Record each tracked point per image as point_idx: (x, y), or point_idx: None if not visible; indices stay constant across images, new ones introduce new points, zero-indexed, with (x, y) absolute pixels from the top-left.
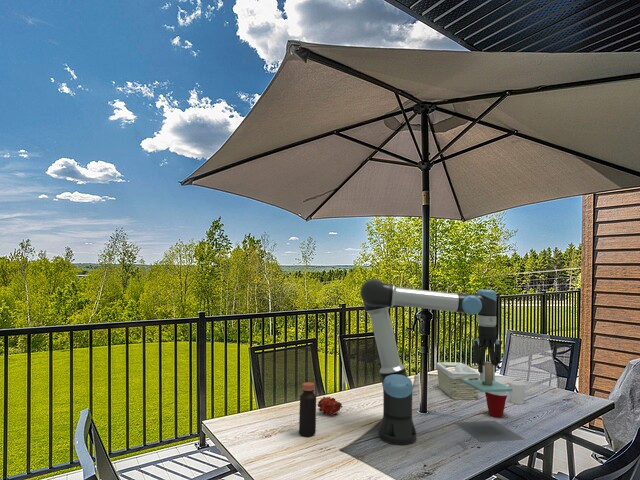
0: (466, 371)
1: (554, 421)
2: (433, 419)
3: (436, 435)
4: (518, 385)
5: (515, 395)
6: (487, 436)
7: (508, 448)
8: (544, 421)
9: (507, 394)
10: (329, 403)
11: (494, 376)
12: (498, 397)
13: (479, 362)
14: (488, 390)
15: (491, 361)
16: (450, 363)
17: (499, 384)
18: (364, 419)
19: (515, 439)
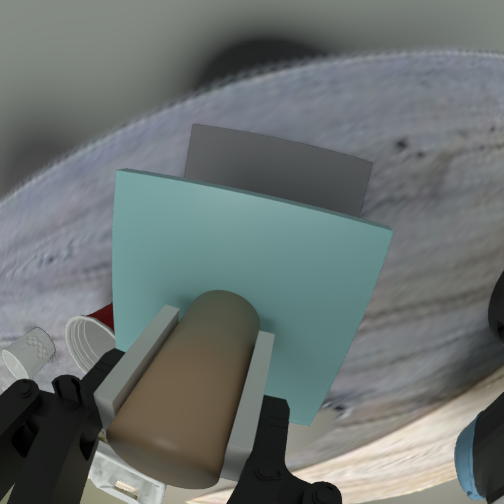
0: (100, 465)
1: (28, 217)
2: (357, 364)
3: (449, 269)
4: (16, 357)
5: (37, 348)
6: (310, 188)
7: (310, 93)
8: (45, 226)
9: (74, 318)
10: None
11: (151, 325)
12: (113, 325)
13: (287, 497)
14: (334, 214)
15: (89, 450)
16: (122, 497)
17: (133, 287)
18: (491, 395)
19: (228, 132)
